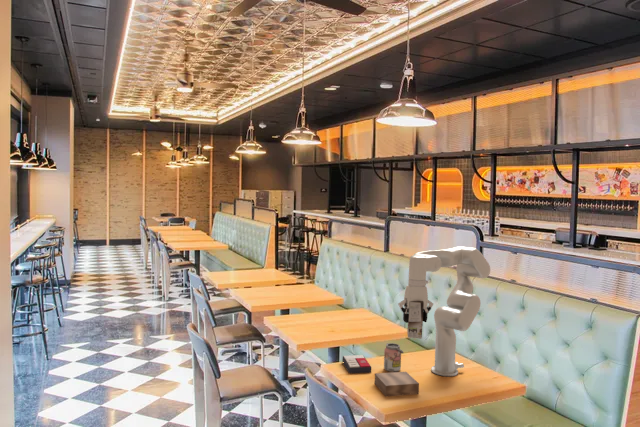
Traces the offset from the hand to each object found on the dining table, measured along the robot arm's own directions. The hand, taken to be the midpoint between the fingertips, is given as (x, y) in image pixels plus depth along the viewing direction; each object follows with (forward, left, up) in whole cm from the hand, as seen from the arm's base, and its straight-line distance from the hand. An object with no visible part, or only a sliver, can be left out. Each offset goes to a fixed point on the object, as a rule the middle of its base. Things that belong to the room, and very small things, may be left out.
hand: (415, 321), depth 216 cm
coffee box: (0, 0, -7) cm, 7 cm away
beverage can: (+1, -19, -29) cm, 35 cm away
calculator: (+17, -26, -29) cm, 43 cm away
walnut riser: (+10, +3, -29) cm, 31 cm away
